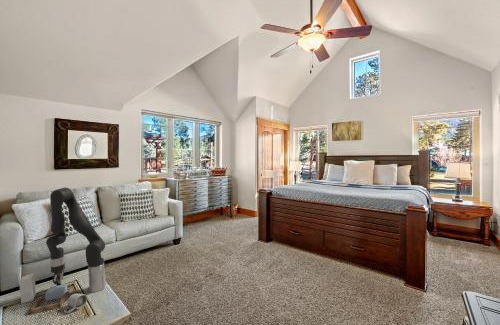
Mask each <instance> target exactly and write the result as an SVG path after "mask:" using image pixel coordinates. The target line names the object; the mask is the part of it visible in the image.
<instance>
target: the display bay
mask: <svg viewBox="0 0 500 325" xmlns="http://www.w3.org/2000/svg"><path fill="white" fill-rule="evenodd" d="M68 293H69V292H68V291H67V292H66V293H65V294H64V296H63V297H62V298H60V301H59V302H58V303H52V304H47V305H44V306H38V305H40V303H41V302H42V297H41V296H40V297H38V298H37V299H36V301H35V302H33V304H32V306H31V307H30V308H29V310H28V315H33V314H37V313H42V312H47V311H52V310H55V309H60V308H62V306H63V304H64V303H65V301H66V299H68V296H69V294H68Z"/></svg>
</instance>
